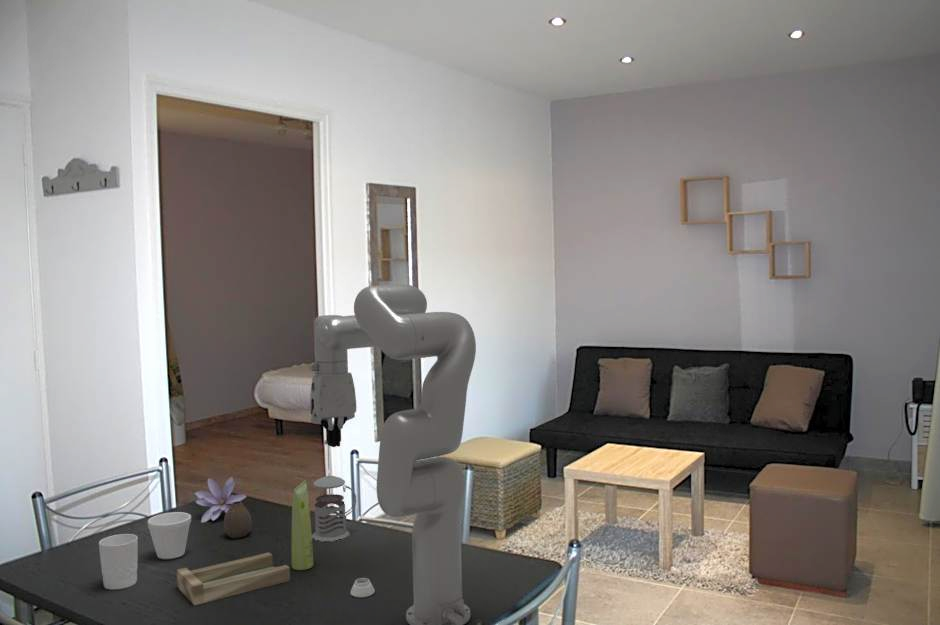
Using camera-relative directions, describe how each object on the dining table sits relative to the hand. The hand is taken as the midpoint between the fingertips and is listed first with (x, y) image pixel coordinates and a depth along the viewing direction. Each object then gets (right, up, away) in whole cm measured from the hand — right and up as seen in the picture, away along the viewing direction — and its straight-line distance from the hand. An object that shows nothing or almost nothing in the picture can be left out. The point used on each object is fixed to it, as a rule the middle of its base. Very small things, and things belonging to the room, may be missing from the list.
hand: (333, 445), depth 193 cm
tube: (-7, -28, -3) cm, 29 cm away
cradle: (-19, -28, -12) cm, 36 cm away
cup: (-40, -28, +6) cm, 49 cm away
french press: (-3, -26, +19) cm, 32 cm away
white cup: (-45, -29, -11) cm, 55 cm away
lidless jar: (+9, -29, -19) cm, 36 cm away
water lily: (-37, -26, +35) cm, 57 cm away
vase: (-28, -27, +19) cm, 43 cm away
